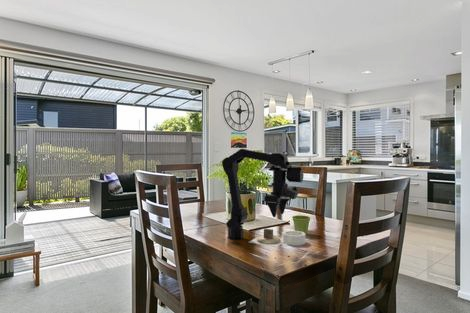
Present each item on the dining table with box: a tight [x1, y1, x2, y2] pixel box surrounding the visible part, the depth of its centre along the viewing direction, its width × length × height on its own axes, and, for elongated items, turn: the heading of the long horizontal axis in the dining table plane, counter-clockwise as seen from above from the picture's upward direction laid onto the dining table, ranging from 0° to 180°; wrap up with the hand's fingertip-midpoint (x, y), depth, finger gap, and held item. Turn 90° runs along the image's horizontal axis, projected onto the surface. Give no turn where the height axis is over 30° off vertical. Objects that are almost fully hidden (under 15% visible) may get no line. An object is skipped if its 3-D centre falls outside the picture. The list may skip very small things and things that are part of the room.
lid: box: [256, 228, 281, 244], centre depth 142 cm, size 11×11×5 cm
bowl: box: [282, 230, 307, 246], centre depth 140 cm, size 10×10×4 cm
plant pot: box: [291, 214, 312, 235], centre depth 155 cm, size 9×9×9 cm
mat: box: [248, 237, 284, 248], centre depth 142 cm, size 14×14×1 cm
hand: (278, 215), depth 137 cm, fingers open, 9 cm apart
